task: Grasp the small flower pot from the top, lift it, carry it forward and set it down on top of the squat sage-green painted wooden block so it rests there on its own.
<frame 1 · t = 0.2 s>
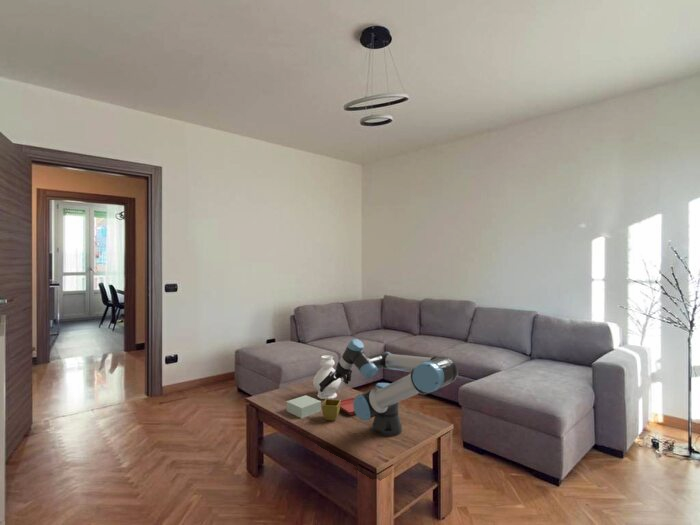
hand: (329, 392, 205), 15 cm above the table, tool tilted 35°, fingers open, 13 cm apart
decorative vase: (327, 396, 243), on the table
flower pot: (331, 419, 208), on the table
plant saucer: (354, 409, 222), on the table
sage block: (303, 411, 219), on the table
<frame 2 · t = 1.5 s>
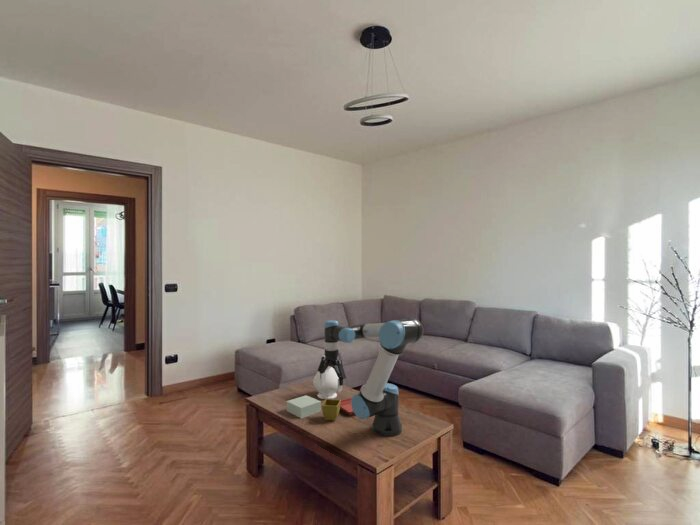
hand: (331, 388, 208), 17 cm above the table, tool pointing down, fingers open, 13 cm apart
nothing on the table moved.
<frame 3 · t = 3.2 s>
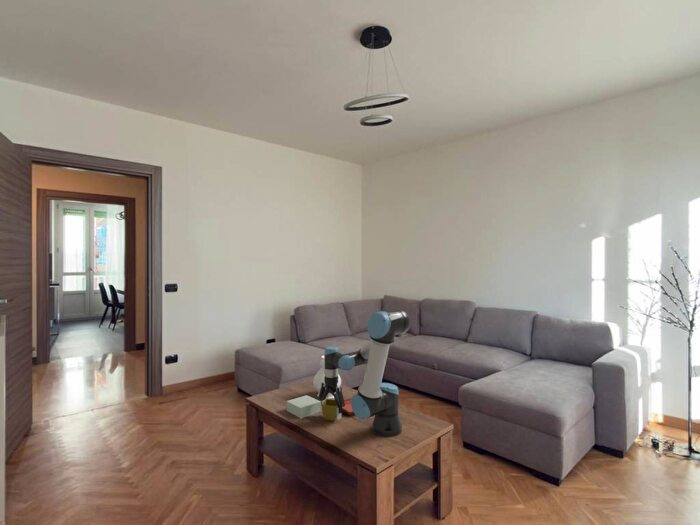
hand: (331, 415, 208), 2 cm above the table, tool pointing down, fingers closed on flower pot, 12 cm apart
flower pot: (331, 419, 208), on the table, touching gripper
everything else where it was.
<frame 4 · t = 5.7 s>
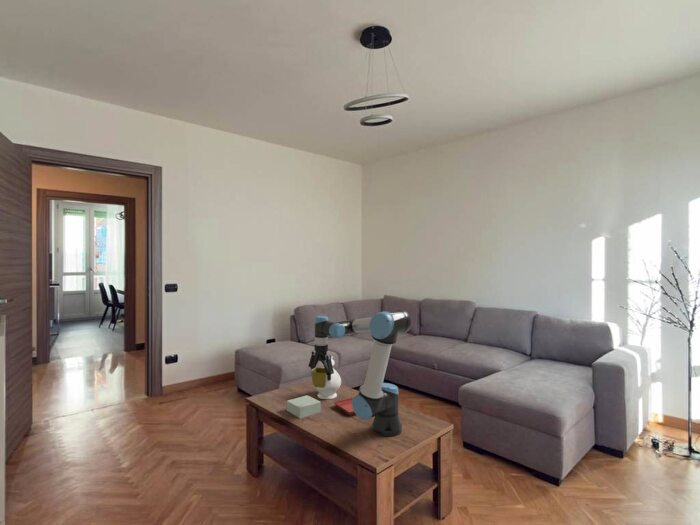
hand: (320, 383, 212), 18 cm above the table, tool pointing down, fingers closed on flower pot, 12 cm apart
flower pot: (320, 386, 212), point 16 cm above the table, touching gripper
everything else where it was.
when the fingers open (9 cm above the table, at t = 8.4 s): flower pot drops 2 cm, point 5 cm above the table.
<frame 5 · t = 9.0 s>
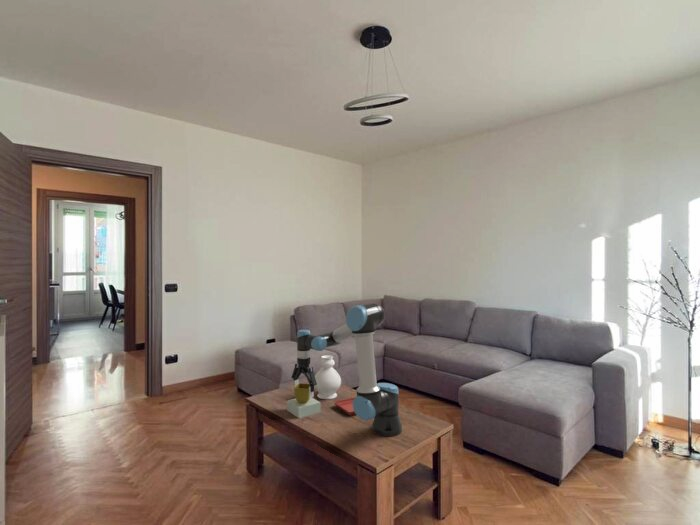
hand: (303, 394, 218), 10 cm above the table, tool pointing down, fingers open, 13 cm apart
flower pot: (303, 401, 218), point 5 cm above the table
everything else where it was.
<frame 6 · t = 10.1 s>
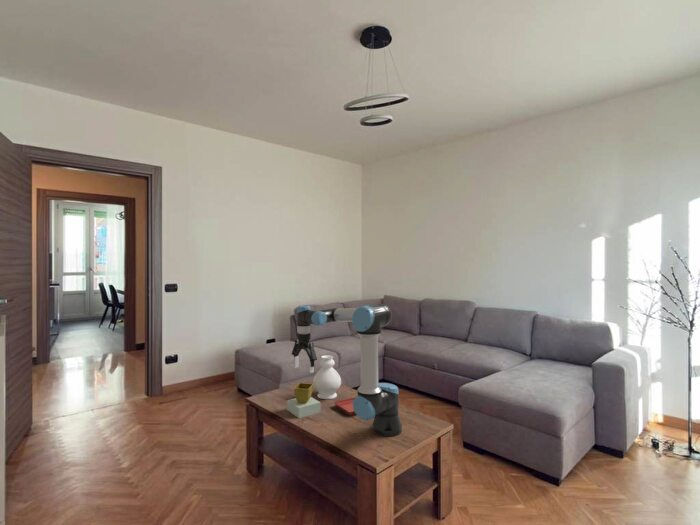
hand: (304, 370, 218), 24 cm above the table, tool pointing down, fingers open, 13 cm apart
flower pot: (303, 401, 218), point 5 cm above the table, touching sage block
sage block: (303, 411, 219), on the table, touching flower pot
everything else where it was.
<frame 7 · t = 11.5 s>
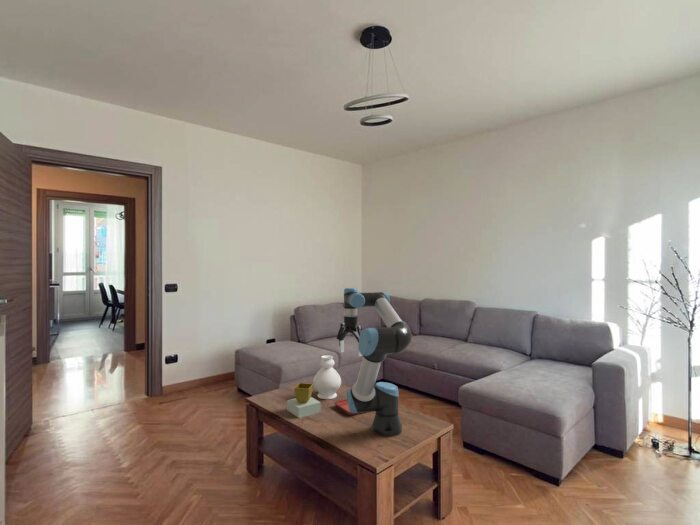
hand: (350, 354, 212), 34 cm above the table, tool pointing down, fingers open, 13 cm apart
nothing on the table moved.
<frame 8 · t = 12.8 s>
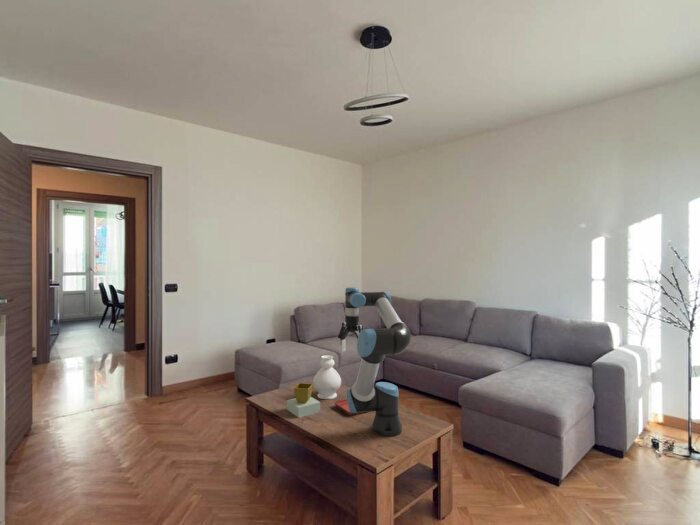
hand: (352, 353, 212), 35 cm above the table, tool pointing down, fingers open, 13 cm apart
nothing on the table moved.
at the end: flower pot inside the target area on the sage block (0.5 cm from its centre), point 5.9 cm above the sage block's base; flower pot tilted 1°; the gripper is holding nothing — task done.
